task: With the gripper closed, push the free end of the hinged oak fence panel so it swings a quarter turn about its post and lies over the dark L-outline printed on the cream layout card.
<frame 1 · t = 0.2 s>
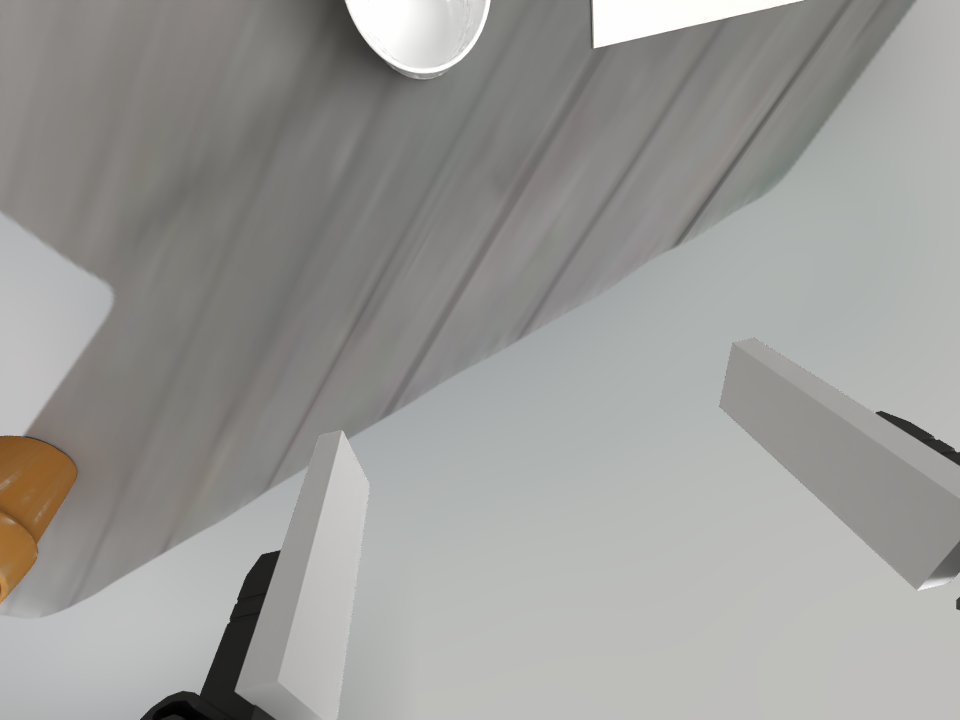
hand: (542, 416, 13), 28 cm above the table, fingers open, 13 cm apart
flower pot: (31, 463, 44), on the table
white cup: (418, 24, 29), on the table
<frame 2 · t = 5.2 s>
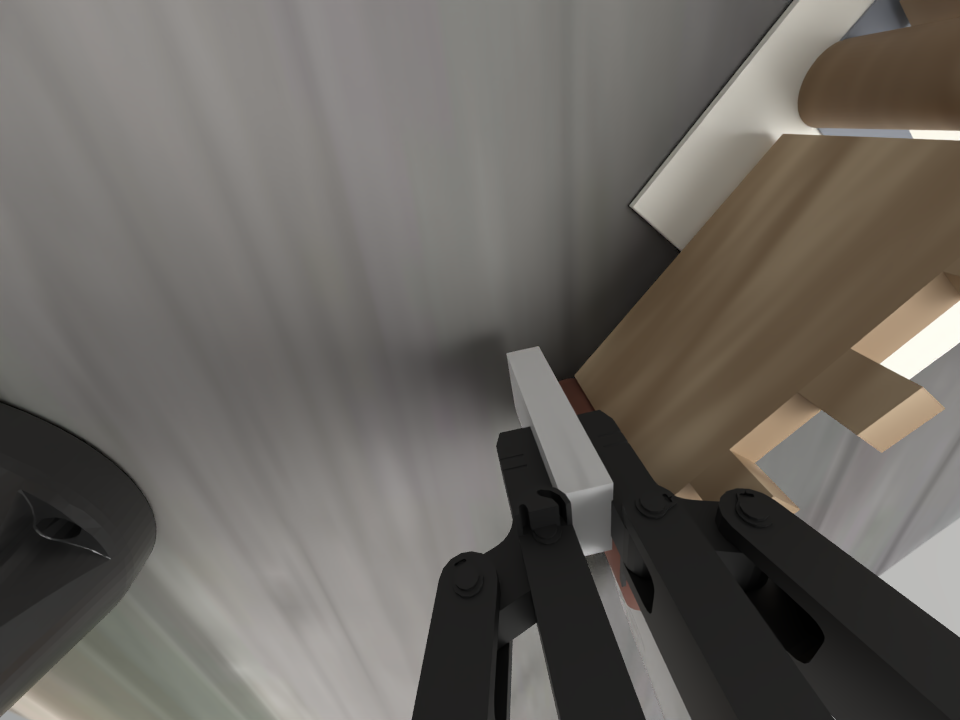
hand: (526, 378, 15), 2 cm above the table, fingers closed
fixed fence: (826, 85, 13), resting on layout card
white cup: (646, 521, 26), on the table
swing panel: (721, 358, 12), point 5 cm above the table, hinge at 1.8°, touching gripper
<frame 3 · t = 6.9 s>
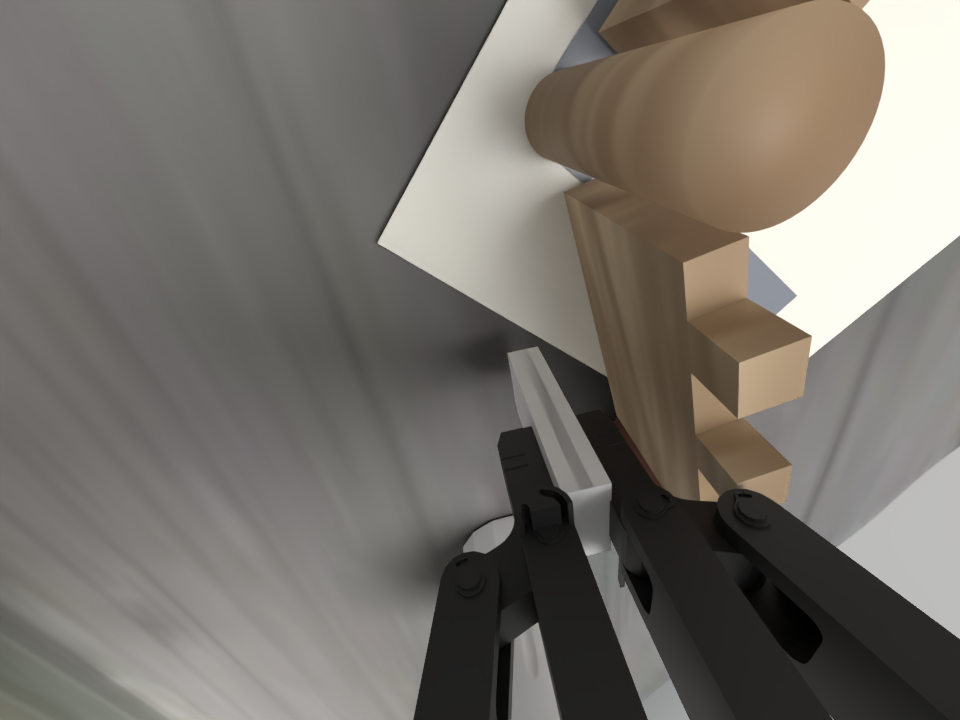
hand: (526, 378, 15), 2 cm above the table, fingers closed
fixed fence: (559, 117, 12), resting on layout card
layout card: (756, 166, 14), on the table
white cup: (512, 541, 25), on the table
swing panel: (666, 407, 13), point 5 cm above the table, hinge at 55.8°, touching gripper
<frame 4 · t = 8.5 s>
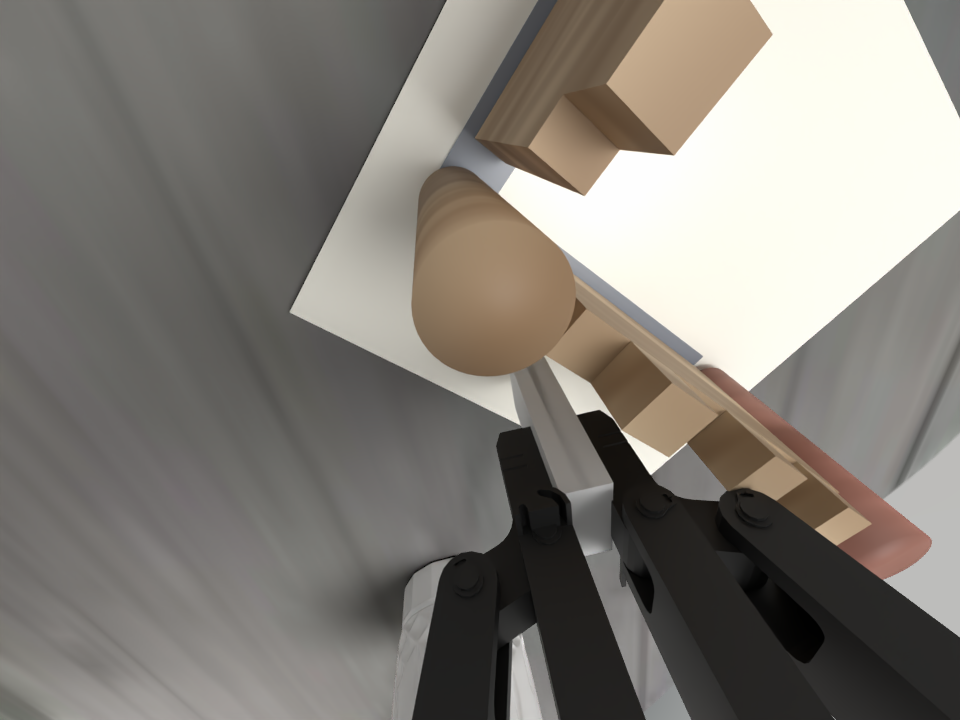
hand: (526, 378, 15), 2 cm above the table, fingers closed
fixed fence: (453, 204, 13), resting on layout card
layout card: (647, 244, 15), on the table
white cup: (456, 582, 26), on the table
swing panel: (686, 393, 12), point 5 cm above the table, hinge at 89.3°, touching gripper, hand
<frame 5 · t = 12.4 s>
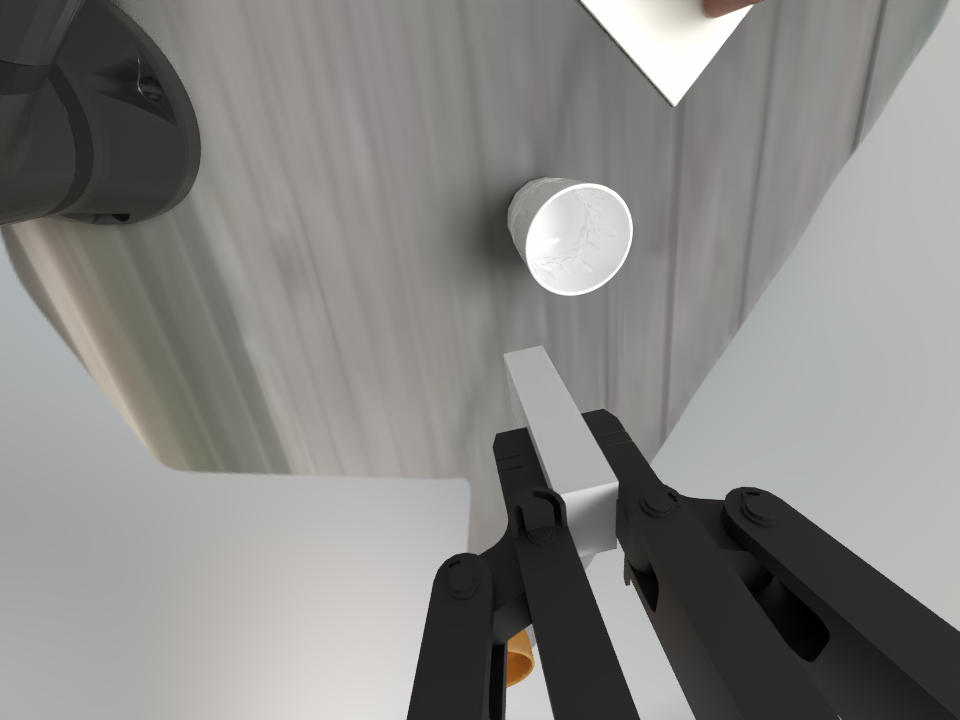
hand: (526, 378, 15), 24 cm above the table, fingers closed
flower pot: (475, 582, 67), on the table
white cup: (541, 216, 36), on the table
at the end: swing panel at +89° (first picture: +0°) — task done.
